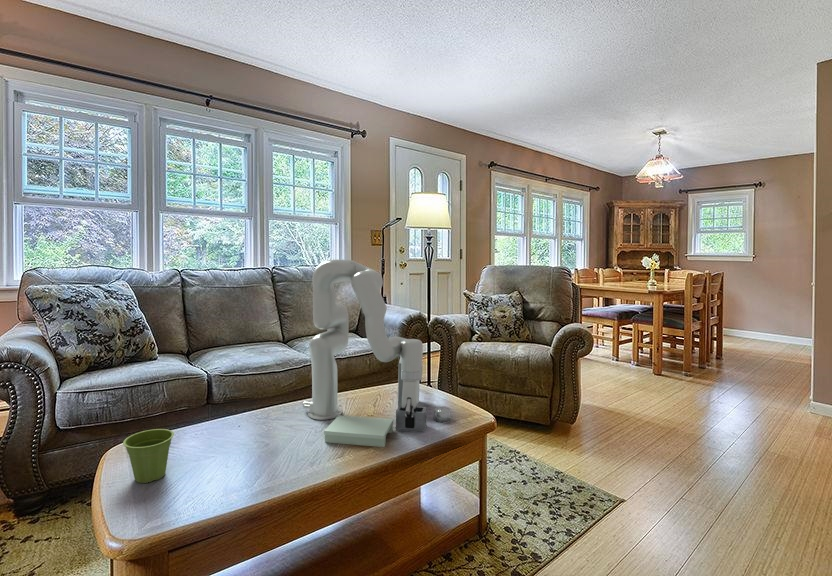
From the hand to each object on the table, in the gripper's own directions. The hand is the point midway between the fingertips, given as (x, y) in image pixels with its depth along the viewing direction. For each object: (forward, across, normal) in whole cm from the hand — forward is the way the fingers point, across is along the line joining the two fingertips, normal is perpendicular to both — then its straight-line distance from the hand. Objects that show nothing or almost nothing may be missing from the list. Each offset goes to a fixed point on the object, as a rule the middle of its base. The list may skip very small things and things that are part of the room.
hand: (411, 423), depth 154 cm
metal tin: (+2, -10, +10) cm, 14 cm away
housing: (+2, 0, 0) cm, 2 cm away
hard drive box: (+2, -21, -5) cm, 22 cm away
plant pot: (+2, +46, -65) cm, 80 cm away
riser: (+2, +10, -16) cm, 19 cm away
